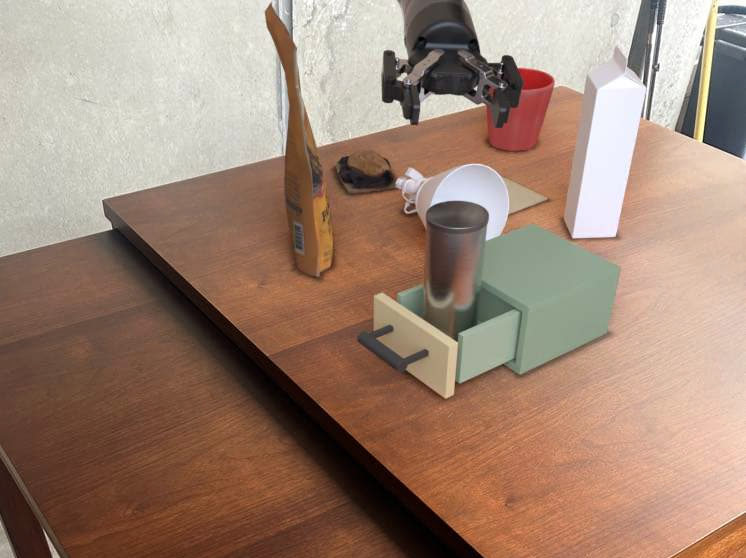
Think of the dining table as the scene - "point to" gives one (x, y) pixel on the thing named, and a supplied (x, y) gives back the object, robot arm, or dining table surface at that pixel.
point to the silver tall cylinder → (454, 265)
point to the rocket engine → (459, 192)
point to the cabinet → (549, 292)
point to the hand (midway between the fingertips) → (458, 117)
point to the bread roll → (365, 172)
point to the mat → (521, 196)
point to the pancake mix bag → (302, 167)
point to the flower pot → (524, 113)
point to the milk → (604, 148)
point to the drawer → (441, 340)
